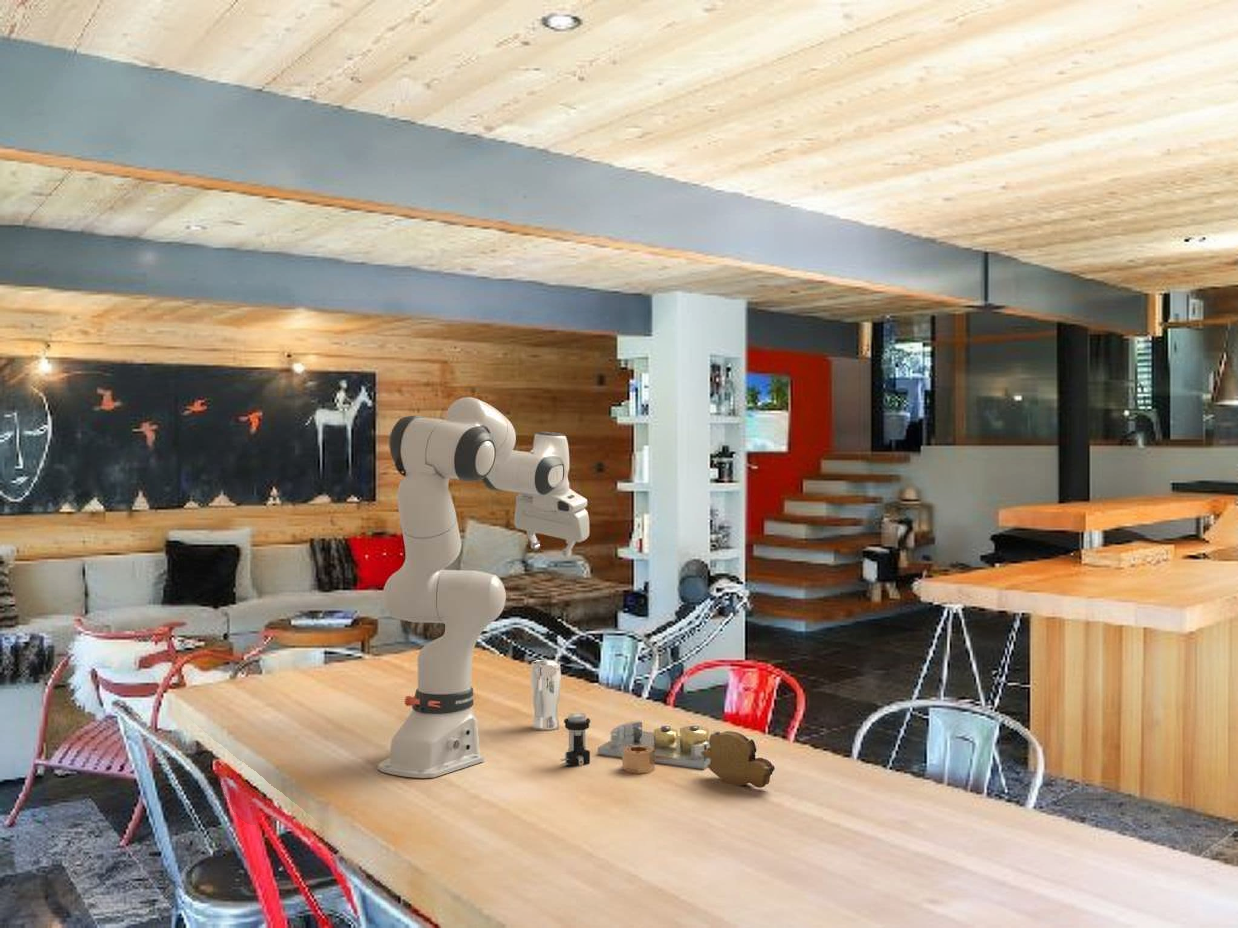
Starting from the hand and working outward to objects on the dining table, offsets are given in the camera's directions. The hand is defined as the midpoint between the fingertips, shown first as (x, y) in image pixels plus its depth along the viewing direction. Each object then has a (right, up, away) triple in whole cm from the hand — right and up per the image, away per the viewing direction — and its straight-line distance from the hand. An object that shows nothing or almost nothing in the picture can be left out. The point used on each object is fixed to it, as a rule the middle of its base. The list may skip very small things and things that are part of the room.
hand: (551, 551), depth 268 cm
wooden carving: (+39, -40, -55) cm, 79 cm away
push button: (+7, -40, -43) cm, 59 cm away
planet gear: (+20, -40, -46) cm, 64 cm away
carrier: (+26, -40, -34) cm, 58 cm away
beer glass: (0, -40, -14) cm, 42 cm away
